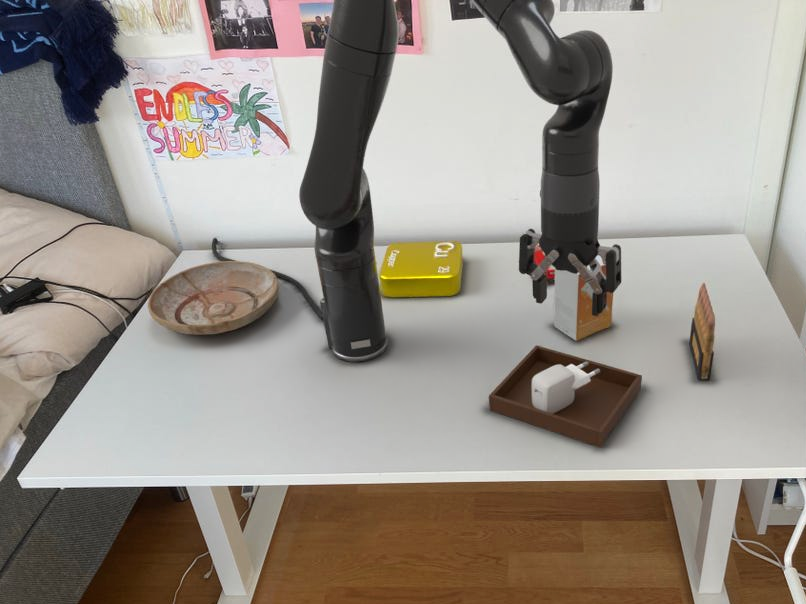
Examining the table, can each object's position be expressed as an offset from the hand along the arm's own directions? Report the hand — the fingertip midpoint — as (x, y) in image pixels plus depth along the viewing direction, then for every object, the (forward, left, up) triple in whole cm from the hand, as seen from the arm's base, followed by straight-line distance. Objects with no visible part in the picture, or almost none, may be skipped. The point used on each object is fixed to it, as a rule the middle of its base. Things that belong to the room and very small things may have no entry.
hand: (568, 306), depth 110 cm
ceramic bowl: (-68, -6, -17) cm, 71 cm away
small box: (-7, +20, -17) cm, 27 cm away
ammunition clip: (+14, +19, -17) cm, 29 cm away
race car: (-22, +36, -17) cm, 45 cm away
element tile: (-42, +22, -17) cm, 50 cm away
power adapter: (0, 0, -16) cm, 16 cm away
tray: (0, 0, -16) cm, 16 cm away
